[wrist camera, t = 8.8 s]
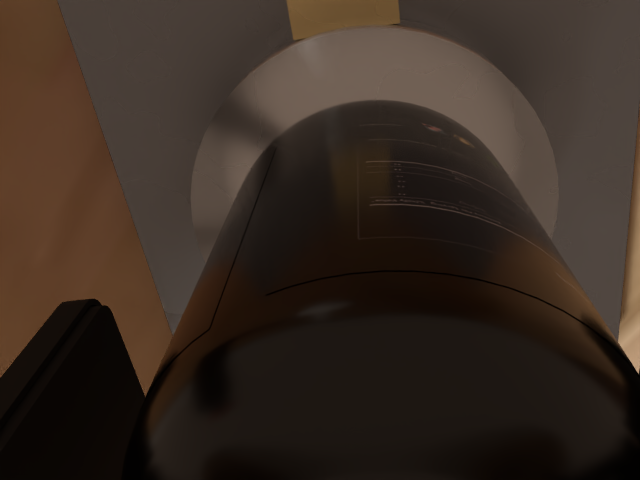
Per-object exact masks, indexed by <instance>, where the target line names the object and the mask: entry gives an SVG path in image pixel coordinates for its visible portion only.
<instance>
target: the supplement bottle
mask: <svg viewBox="0 0 640 480" xmlns="http://www.w3.org/2000/svg"><path fill="white" fill-rule="evenodd" d="M121 480H640V376H639V374H638V373H637V371H636V370H635V368H634V366H633V365H632V363H631V362H630V360H629V359H628V357H627V356H626V354H625V353H624V351H623V349H622V348H621V346H620V345H619V343H618V342H617V340H616V339H615V337H614V336H613V334H612V333H611V331H610V329H609V328H608V326H607V325H606V323H605V322H604V320H603V319H602V317H601V316H600V314H599V313H598V311H597V310H596V308H595V307H594V305H593V303H592V302H591V300H590V299H589V297H588V296H587V294H586V293H585V291H584V290H583V288H582V287H581V285H580V284H579V282H578V280H577V279H576V277H575V276H574V274H573V273H572V271H571V270H570V268H569V267H568V265H567V264H566V262H565V261H564V259H563V258H562V256H561V254H560V253H559V251H558V250H557V248H556V247H555V245H554V244H553V242H552V241H551V239H550V238H549V236H548V235H547V233H546V232H545V230H544V228H543V227H542V225H541V224H540V222H539V221H538V219H537V218H536V216H535V215H534V213H533V212H532V210H531V209H530V207H529V205H528V204H527V202H526V201H525V199H524V198H523V196H522V195H521V193H520V192H519V190H518V189H517V187H516V186H515V184H514V183H513V181H512V179H511V178H510V176H509V175H508V174H507V172H506V171H505V170H504V168H503V167H502V165H501V164H500V163H499V161H498V160H497V159H496V157H495V156H494V155H493V153H492V152H491V151H490V150H489V149H488V148H487V147H486V145H485V144H484V143H483V142H482V141H481V140H480V139H479V138H478V137H476V136H475V135H474V134H473V133H472V132H470V131H469V130H468V129H467V128H465V127H464V126H462V125H461V124H459V123H458V122H456V121H455V120H453V119H451V118H449V117H447V116H446V115H444V114H442V113H439V112H437V111H434V110H432V109H429V108H427V107H423V106H420V105H416V104H412V103H407V102H401V101H393V100H362V101H354V102H348V103H344V104H339V105H335V106H332V107H329V108H326V109H323V110H320V111H318V112H316V113H313V114H311V115H309V116H307V117H305V118H304V119H302V120H300V121H298V122H296V123H295V124H293V125H292V126H291V127H289V128H288V129H286V130H285V131H284V132H282V133H281V134H280V135H279V136H278V137H277V138H275V139H274V140H273V141H272V142H271V143H270V144H269V145H268V146H267V148H266V149H265V150H264V151H263V152H262V153H261V155H260V156H259V157H258V159H257V160H256V161H255V163H254V164H253V166H252V167H251V169H250V170H249V172H248V174H247V175H246V177H245V179H244V181H243V183H242V186H241V188H240V189H239V191H238V193H237V195H236V198H235V200H234V202H233V204H232V206H231V208H230V211H229V213H228V215H227V217H226V220H225V222H224V224H223V226H222V228H221V231H220V233H219V235H218V237H217V239H216V242H215V244H214V246H213V248H212V251H211V253H210V255H209V257H208V259H207V262H206V264H205V266H204V268H203V271H202V273H201V275H200V277H199V279H198V282H197V284H196V286H195V288H194V291H193V293H192V295H191V297H190V299H189V302H188V304H187V306H186V308H185V310H184V313H183V315H182V317H181V319H180V322H179V324H178V326H177V328H176V330H175V333H174V335H173V337H172V339H171V342H170V344H169V346H168V348H167V350H166V353H165V355H164V357H163V359H162V362H161V364H160V366H159V368H158V370H157V373H156V375H155V377H154V379H153V382H152V384H151V386H150V388H149V390H148V393H147V395H146V397H145V399H144V402H143V404H142V406H141V409H140V411H139V414H138V417H137V420H136V422H135V425H134V428H133V431H132V434H131V437H130V440H129V443H128V446H127V449H126V453H125V456H124V462H123V469H122V475H121Z"/></svg>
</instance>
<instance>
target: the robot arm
mask: <svg viewBox="0 0 640 480" xmlns="http://www.w3.org/2000/svg"><path fill="white" fill-rule="evenodd" d="M639 376H640V370H639ZM144 399H145V395H144V393H143V390H142V388H141V385H140V383H139V380H138V377H137V375H136V372H135V370H134V367H133V365H132V362H131V360H130V357H129V355H128V352H127V349H126V347H125V344H124V342H123V339H122V337H121V334H120V332H119V329H118V327H117V324H116V321H115V319H114V316H113V314H112V312H111V310H110V308H109V307H108V306H105V305H104V306H102V305H101V303H100V302H99V301H98V300H96V299H86V300H76V301H67V302H62V303H61V304H60V305H59V306H58V307H57V308H56V310H55V311H54V312H53V313H52V315H51V316H50V317H49V318H48V320H47V321H46V322H45V323H44V325H43V326H42V327H41V328H40V330H39V331H38V332H37V333H36V334H35V336H34V337H33V338H32V339H31V341H30V342H29V343H28V344H27V346H26V347H25V348H24V349H23V351H22V352H21V353H20V354H19V356H18V357H17V358H16V359H15V361H14V362H13V363H12V364H11V366H10V367H9V368H8V369H7V370H6V372H5V373H4V374H3V375H2V377H1V378H0V480H121V475H122V469H123V462H124V456H125V453H126V449H127V446H128V443H129V440H130V437H131V434H132V431H133V428H134V425H135V422H136V420H137V417H138V414H139V411H140V409H141V406H142V404H143V402H144Z"/></svg>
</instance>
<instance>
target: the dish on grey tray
mask: <svg viewBox="0 0 640 480" xmlns="http://www.w3.org/2000/svg"><path fill="white" fill-rule="evenodd" d="M57 1H58V4H59V7H60V10H61V13H62V16H63V18H64V21H65V24H66V27H67V30H68V33H69V36H70V39H71V42H72V45H73V47H74V50H75V53H76V56H77V59H78V62H79V65H80V68H81V71H82V74H83V77H84V79H85V82H86V85H87V88H88V91H89V94H90V97H91V100H92V103H93V106H94V109H95V111H96V114H97V117H98V120H99V123H100V126H101V129H102V132H103V135H104V138H105V141H106V143H107V146H108V149H109V152H110V155H111V158H112V161H113V164H114V167H115V170H116V172H117V175H118V178H119V181H120V184H121V187H122V190H123V193H124V196H125V199H126V202H127V204H128V207H129V210H130V213H131V216H132V219H133V222H134V225H135V228H136V231H137V234H138V236H139V239H140V242H141V245H142V248H143V251H144V254H145V257H146V260H147V263H148V266H149V268H150V271H151V274H152V277H153V280H154V283H155V286H156V289H157V292H158V295H159V297H160V300H161V303H162V306H163V309H164V312H165V315H166V318H167V321H168V324H169V327H170V329H171V332H172V335H174V333H175V330H176V328H177V326H178V324H179V322H180V319H181V317H182V315H183V313H184V310H185V308H186V306H187V304H188V302H189V299H190V297H191V295H192V293H193V291H194V288H195V286H196V284H197V282H198V279H199V277H200V275H201V273H202V271H203V268H204V266H205V264H206V262H207V259H208V257H209V255H210V253H211V251H212V248H213V246H214V244H215V242H216V239H217V237H218V235H219V233H220V231H221V228H222V226H223V224H224V222H225V220H226V217H227V215H228V213H229V211H230V208H231V206H232V204H233V202H234V200H235V198H236V195H237V193H238V191H239V189H240V188H241V186H242V183H243V181H244V179H245V177H246V175H247V174H248V172H249V170H250V169H251V167H252V166H253V164H254V163H255V161H256V160H257V159H258V157H259V156H260V155H261V153H262V152H263V151H264V150H265V149H266V148H267V146H268V145H269V144H270V143H271V142H272V141H273V140H274V139H275V138H277V137H278V136H279V135H280V134H281V133H282V132H284V131H285V130H286V129H288V128H289V127H291V126H292V125H293V124H295V123H296V122H298V121H300V120H302V119H304V118H305V117H307V116H309V115H311V114H313V113H316V112H318V111H320V110H323V109H326V108H329V107H332V106H335V105H339V104H344V103H348V102H354V101H362V100H393V101H401V102H407V103H412V104H416V105H420V106H423V107H427V108H429V109H432V110H434V111H437V112H439V113H442V114H444V115H446V116H447V117H449V118H451V119H453V120H455V121H456V122H458V123H459V124H461V125H462V126H464V127H465V128H467V129H468V130H469V131H470V132H472V133H473V134H474V135H475V136H476V137H478V138H479V139H480V140H481V141H482V142H483V143H484V144H485V145H486V147H487V148H488V149H489V150H490V151H491V152H492V153H493V155H494V156H495V157H496V159H497V160H498V161H499V163H500V164H501V165H502V167H503V168H504V170H505V171H506V172H507V174H508V175H509V176H510V178H511V179H512V181H513V183H514V184H515V186H516V187H517V189H518V190H519V192H520V193H521V195H522V196H523V198H524V199H525V201H526V202H527V204H528V205H529V207H530V209H531V210H532V212H533V213H534V215H535V216H536V218H537V219H538V221H539V222H540V224H541V225H542V227H543V228H544V230H545V232H546V233H547V235H548V236H549V238H550V239H551V241H552V242H553V244H554V245H555V247H556V248H557V250H558V251H559V253H560V254H561V256H562V258H563V259H564V261H565V262H566V264H567V265H568V267H569V268H570V270H571V271H572V273H573V274H574V276H575V277H576V279H577V280H578V282H579V284H580V285H581V287H582V288H583V290H584V291H585V293H586V294H587V296H588V297H589V299H590V300H591V302H592V303H593V305H594V307H595V308H596V310H597V311H598V313H599V314H600V316H601V317H602V319H603V320H604V322H605V323H606V325H607V326H608V328H609V329H610V331H611V333H612V334H613V336H614V337H615V339H616V340H617V342H618V335H619V324H620V313H621V302H622V291H623V280H624V269H625V258H626V247H627V236H628V225H629V214H630V203H631V192H632V181H633V170H634V159H635V148H636V137H637V126H638V115H639V104H640V0H57Z"/></svg>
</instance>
